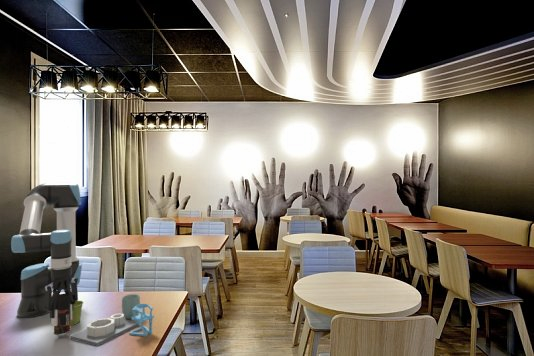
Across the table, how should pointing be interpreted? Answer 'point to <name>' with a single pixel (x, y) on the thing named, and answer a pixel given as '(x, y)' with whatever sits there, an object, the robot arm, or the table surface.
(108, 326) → the bore plate
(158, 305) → the table surface
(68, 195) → the robot arm
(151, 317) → the chair
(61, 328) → the deodorant
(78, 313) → the plant pot
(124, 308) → the cup
